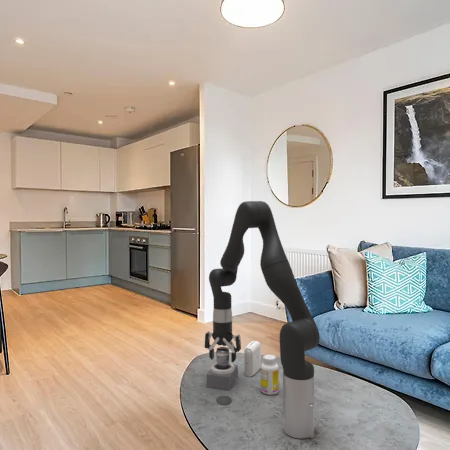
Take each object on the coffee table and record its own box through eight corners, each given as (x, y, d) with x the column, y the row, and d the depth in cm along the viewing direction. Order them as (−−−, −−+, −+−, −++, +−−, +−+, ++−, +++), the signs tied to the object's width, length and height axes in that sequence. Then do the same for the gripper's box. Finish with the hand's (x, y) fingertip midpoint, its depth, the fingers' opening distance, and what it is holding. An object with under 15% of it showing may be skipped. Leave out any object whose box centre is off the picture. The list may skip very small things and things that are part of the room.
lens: (231, 367, 145) (231, 347, 145) (227, 373, 140) (227, 351, 140) (218, 366, 146) (218, 345, 146) (214, 371, 141) (214, 350, 141)
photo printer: (252, 377, 147) (252, 347, 147) (242, 375, 149) (242, 345, 149) (262, 368, 156) (262, 339, 156) (252, 366, 158) (252, 338, 158)
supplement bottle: (278, 387, 139) (278, 353, 138) (279, 396, 132) (279, 360, 132) (260, 386, 139) (260, 353, 139) (260, 395, 133) (260, 360, 132)
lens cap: (233, 399, 130) (233, 397, 130) (229, 407, 125) (229, 404, 125) (218, 397, 132) (218, 395, 132) (213, 404, 127) (213, 402, 127)
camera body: (238, 377, 148) (238, 361, 147) (229, 390, 136) (229, 374, 136) (216, 374, 150) (216, 359, 150) (206, 387, 139) (206, 371, 139)
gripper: (202, 320, 141) (202, 361, 142) (237, 323, 137) (237, 366, 137) (208, 315, 149) (208, 354, 149) (242, 318, 144) (242, 358, 144)
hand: (222, 360), depth 143 cm, fingers open, 8 cm apart
